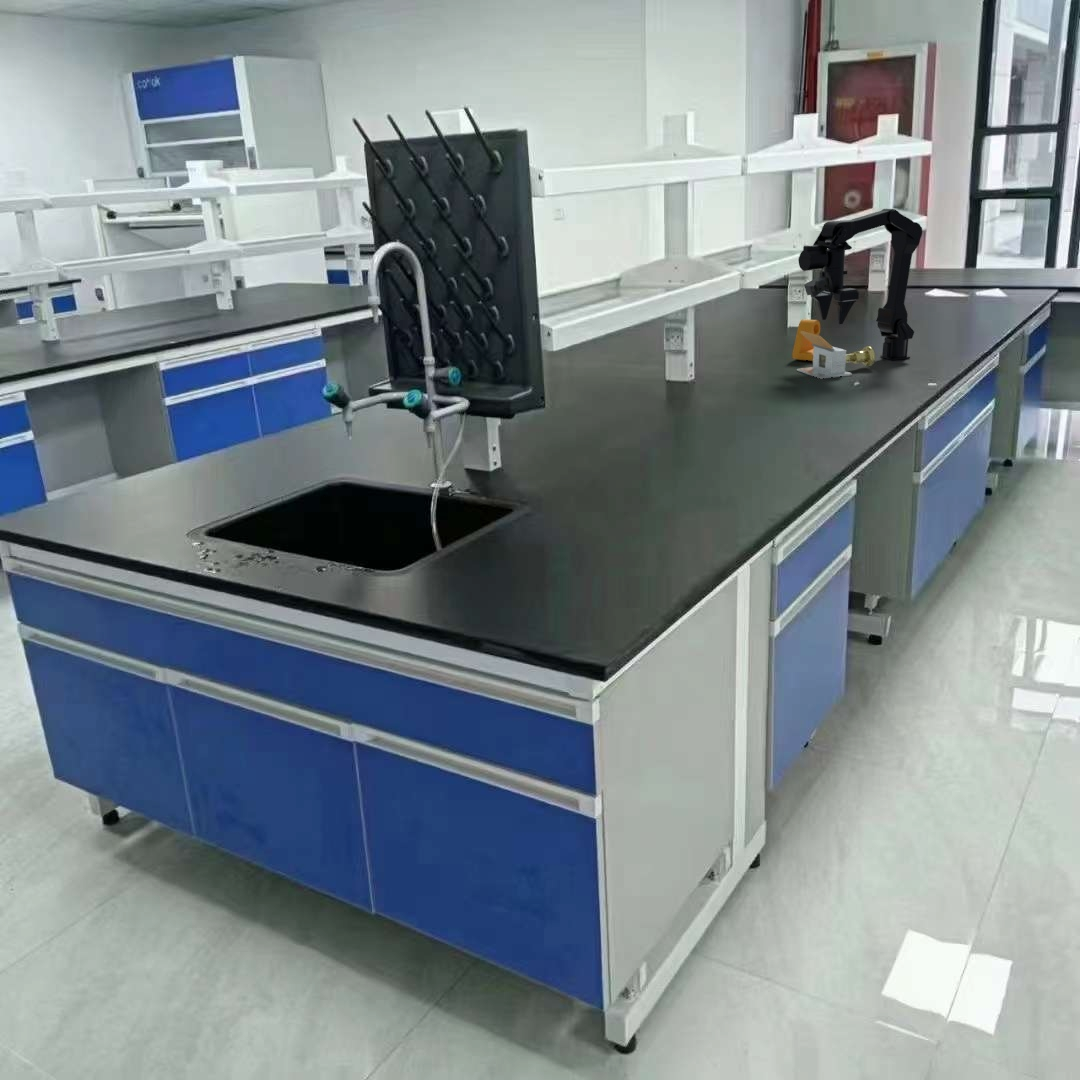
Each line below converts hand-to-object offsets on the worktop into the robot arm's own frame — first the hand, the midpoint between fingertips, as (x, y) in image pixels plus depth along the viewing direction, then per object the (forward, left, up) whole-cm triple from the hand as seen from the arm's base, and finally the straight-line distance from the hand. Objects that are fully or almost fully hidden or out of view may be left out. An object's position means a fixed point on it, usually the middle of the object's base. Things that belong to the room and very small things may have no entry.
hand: (832, 321), depth 303 cm
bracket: (-2, -13, -14) cm, 19 cm away
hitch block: (+6, +7, -13) cm, 16 cm away
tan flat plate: (+9, +7, -4) cm, 12 cm away
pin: (-2, +7, -13) cm, 14 cm away
